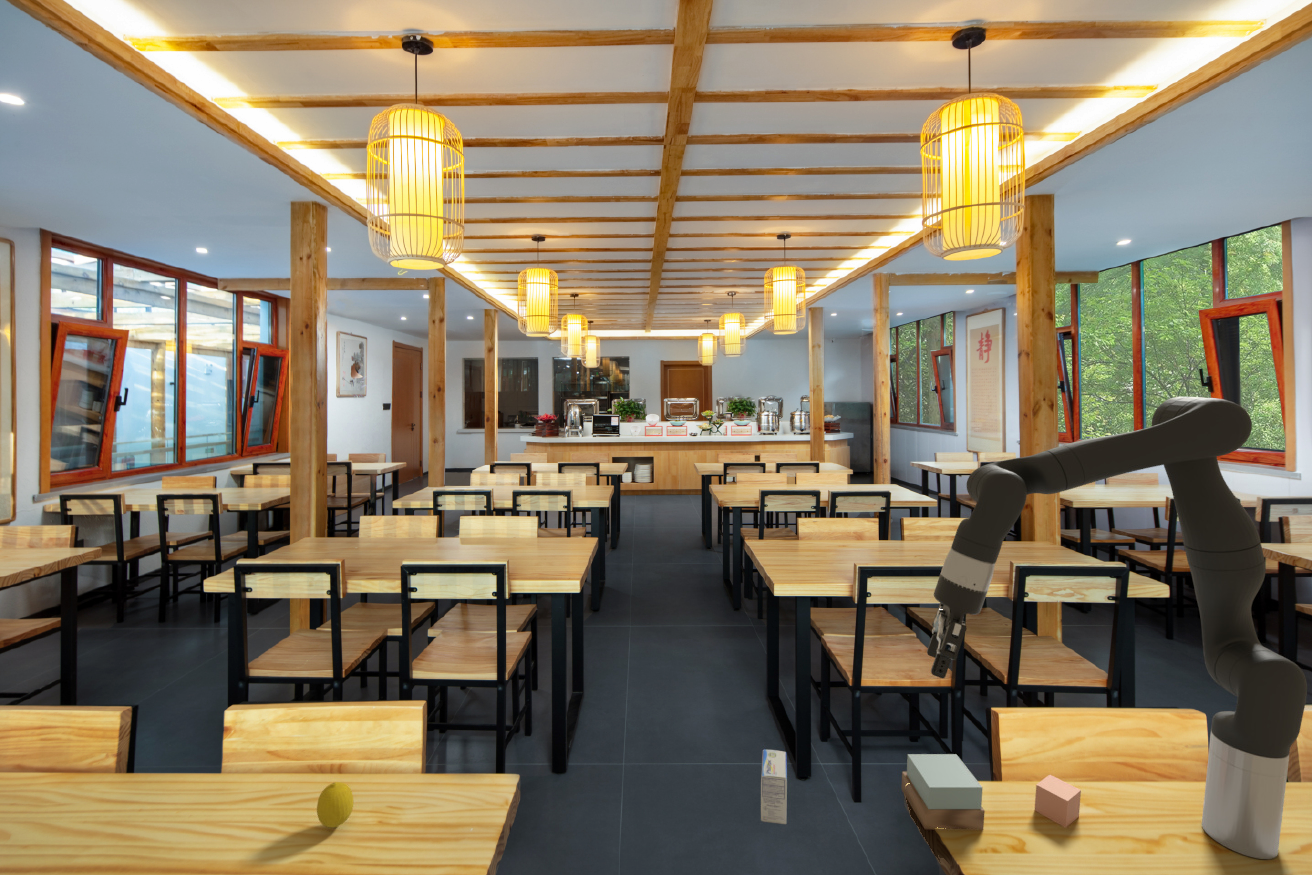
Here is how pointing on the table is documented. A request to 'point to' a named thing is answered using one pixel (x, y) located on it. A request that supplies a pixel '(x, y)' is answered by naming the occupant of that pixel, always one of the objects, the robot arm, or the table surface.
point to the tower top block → (944, 781)
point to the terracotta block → (1057, 800)
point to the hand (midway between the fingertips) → (934, 665)
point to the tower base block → (941, 812)
